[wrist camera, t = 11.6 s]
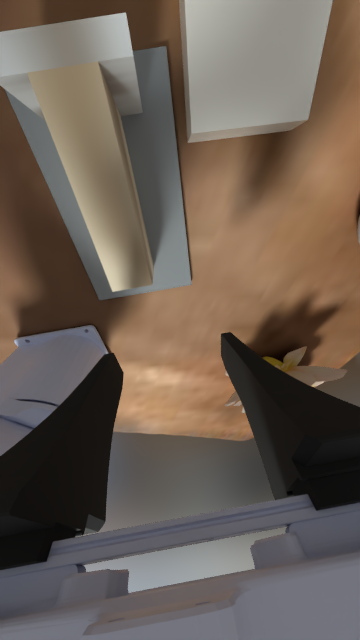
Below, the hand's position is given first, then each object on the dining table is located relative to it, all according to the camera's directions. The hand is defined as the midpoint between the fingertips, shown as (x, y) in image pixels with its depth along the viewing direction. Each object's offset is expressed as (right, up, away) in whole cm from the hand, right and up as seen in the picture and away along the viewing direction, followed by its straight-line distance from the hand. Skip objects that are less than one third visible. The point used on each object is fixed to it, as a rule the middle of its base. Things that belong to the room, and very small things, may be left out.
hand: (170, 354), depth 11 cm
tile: (+5, +16, +1) cm, 17 cm away
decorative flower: (+14, -5, +17) cm, 22 cm away
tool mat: (-4, +12, +3) cm, 13 cm away
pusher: (-4, +11, +3) cm, 12 cm away
